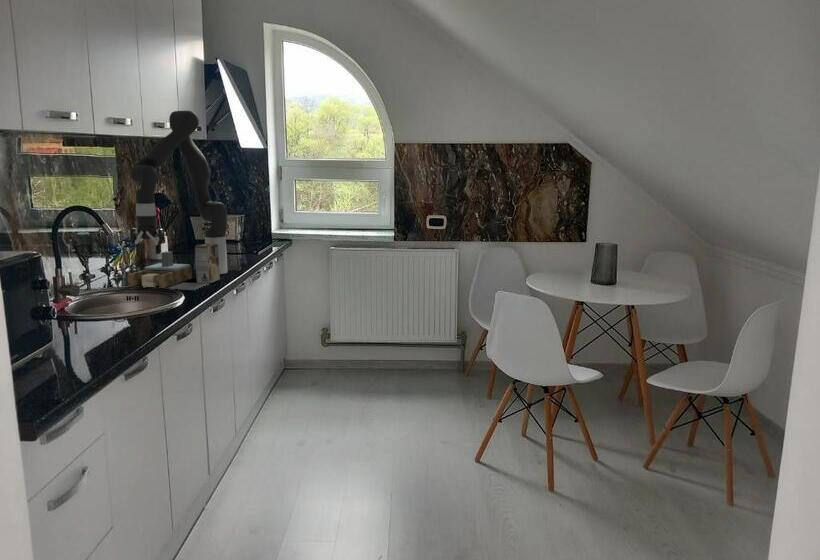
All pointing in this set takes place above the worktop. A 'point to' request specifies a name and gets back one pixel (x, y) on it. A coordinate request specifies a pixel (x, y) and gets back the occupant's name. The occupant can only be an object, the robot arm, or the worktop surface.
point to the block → (150, 280)
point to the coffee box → (207, 263)
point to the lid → (167, 263)
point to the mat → (188, 286)
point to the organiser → (162, 277)
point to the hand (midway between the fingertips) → (148, 253)
